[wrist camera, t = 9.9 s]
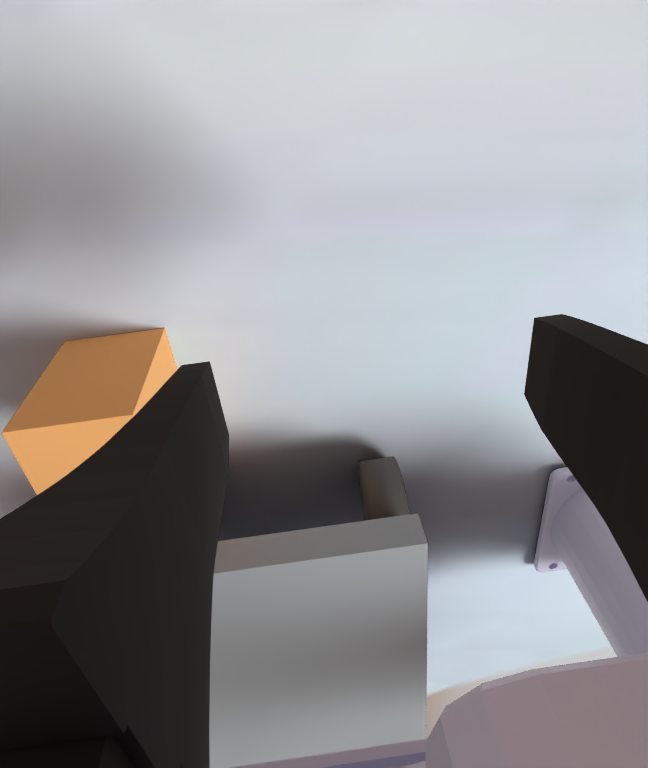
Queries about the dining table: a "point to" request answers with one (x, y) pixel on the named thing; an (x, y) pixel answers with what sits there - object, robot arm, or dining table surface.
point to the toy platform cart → (321, 633)
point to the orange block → (86, 401)
